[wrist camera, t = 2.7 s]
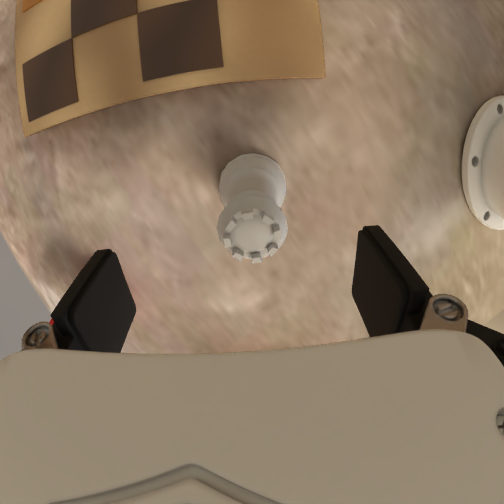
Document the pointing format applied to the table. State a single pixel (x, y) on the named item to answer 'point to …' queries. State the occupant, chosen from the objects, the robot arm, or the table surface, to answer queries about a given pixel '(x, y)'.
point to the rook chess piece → (252, 207)
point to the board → (153, 50)
